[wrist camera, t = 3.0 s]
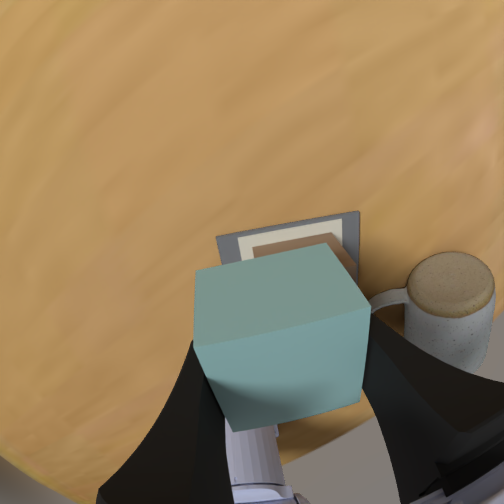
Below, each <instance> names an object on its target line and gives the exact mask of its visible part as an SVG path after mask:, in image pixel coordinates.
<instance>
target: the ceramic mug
mask: <svg viewBox="0 0 504 504" xmlns="http://www.w3.org/2000/svg"><path fill="white" fill-rule="evenodd" d="M495 298H496V294H495V283H494V278H493V275H492V273H491V271H490V269H489V268H488V266H487V265H485V264H484V263H483V262H482V261H481V260H479V259H478V258H476V257H474V256H472V255H469V254H465V253H459V252H445V253H440V254H436V255H433V256H431V257H429V258H427V259H425V260H423V261H422V262H421V263H420V264H419V265H417V266H416V267H415V268H414V270H413V271H412V272H411V274H410V276H409V279H408V283H407V286H406V287H405V288H402V289H390V290H388V291H385V292H382V293H380V294H377V295H375V296H374V297H372V298H371V299H370V300H369V301H368V302H369V304H370V305H371V313H372V314H373V313H374V312H375V311H376V310H378V309H380V308H382V307H385V306H390V305H393V304H401V303H405V304H404V305H405V326H404V338H405V339H406V340H408V341H409V342H411V343H412V344H414V345H415V346H417V347H418V348H420V349H422V350H423V351H425V352H427V353H428V354H430V355H432V356H434V357H436V358H438V359H439V360H441V361H443V362H445V363H447V364H450V365H452V366H454V367H456V368H459V369H461V370H463V371H466V372H469V373H471V374H473V373H474V372H475V371H476V370H477V369H478V368H479V367H480V366H481V364H482V363H483V361H484V358H485V356H486V352H487V347H488V342H489V336H490V332H491V326H492V319H493V313H494V308H495Z"/></svg>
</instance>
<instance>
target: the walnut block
mask: <svg viewBox="0 0 504 504" xmlns="http://www.w3.org/2000/svg"><path fill="white" fill-rule="evenodd" d="M322 243H327V245H328V246H329V247H330V249H331V250H332V251H333V253H334V254H335V255H336V257H337V258H338V260H339V261H340V262H341V264H342V265H343V267H344V268H345V269H346V271H347V272H348V274H349V275H350V276H351V278H352V279H353V281H354V282H355V284H356V266H357V265H356V264H355V262H354V261H353V260H352V258H351V257H350V256H349V254H348V253H347V252H346V250H345V249H344V248H343V247H342V245H341V244H340V243H339V241H338V240H337V239H336V238H335V236H334V235H333V234H332V233H331V232H329V233H324V234H319V235H313V236H308V237H303V238H297V239H292V240H287V241H281V242H276V243H271V244H266V245H260V246H255V247H252V250H253V256H254V258H257V257H262V256H267V255H271V254H276V253H281V252H285V251H290V250H294V249H299V248H303V247H308V246H313V245H317V244H322Z"/></svg>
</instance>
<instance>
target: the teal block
mask: <svg viewBox="0 0 504 504" xmlns="http://www.w3.org/2000/svg"><path fill="white" fill-rule="evenodd" d="M370 314H371V305H370V304H369V302H368V301H367V299H366V298H365V297H364V295H363V294H362V292H361V291H360V289H359V288H358V286H357V285H356V284H355V282H354V281H353V279H352V278H351V276H350V275H349V274H348V272H347V271H346V269H345V268H344V267H343V265H342V264H341V262H340V261H339V260H338V258H337V257H336V255H335V254H334V253H333V251H332V250H331V249H330V247H329V246H328V245H327V243H322V244H317V245H313V246H308V247H303V248H299V249H294V250H290V251H285V252H281V253H276V254H271V255H267V256H262V257H257V258H253V259H248V260H244V261H239V262H234V263H230V264H225V265H220V266H216V267H211V268H206V269H202V270H197V271H196V277H195V302H194V338H193V348H194V350H195V353H196V355H197V357H198V359H199V362H200V364H201V366H202V369H203V371H204V373H205V375H206V377H207V380H208V382H209V384H210V386H211V388H212V390H213V393H214V395H215V397H216V399H217V401H218V403H219V405H220V407H221V409H222V411H223V414H224V416H225V418H226V420H227V422H228V424H229V426H230V428H231V430H232V432H239V431H245V430H251V429H256V428H261V427H266V426H271V425H276V424H281V423H285V422H289V421H294V420H298V419H302V418H306V417H310V416H314V415H317V414H321V413H325V412H328V411H332V410H335V409H338V408H342V407H345V406H348V405H351V404H355V403H358V402H360V396H361V390H362V383H363V376H364V369H365V361H366V353H367V344H368V335H369V325H370Z"/></svg>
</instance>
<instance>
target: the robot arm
mask: <svg viewBox="0 0 504 504" xmlns="http://www.w3.org/2000/svg"><path fill="white" fill-rule="evenodd" d="M362 389H363V391H364V393H365V395H366V396H367V398H368V400H369V402H370V404H371V406H372V408H373V410H374V413H375V415H376V417H377V420H378V423H379V425H380V428H381V431H382V434H383V437H384V440H385V443H386V446H387V449H388V453H389V456H390V459H391V463H392V467H393V471H394V474H395V479H396V483H397V488H398V492H399V497H400V502H401V504H446V503H447V504H504V383H502V382H498V381H493V380H490V379H486V378H483V377H480V376H477V375H474V374H471V373H469V372H466V371H463V370H461V369H459V368H456V367H454V366H452V365H450V364H447V363H445V362H443V361H441V360H439V359H438V358H436V357H434V356H432V355H430V354H428V353H427V352H425V351H423V350H422V349H420V348H418V347H417V346H415V345H414V344H412V343H411V342H409V341H408V340H406V339H405V338H404V337H402V336H401V335H399V334H398V333H397V332H395V331H394V330H393V329H391V328H390V327H389V326H387V325H386V324H385V323H384V322H382V321H381V320H380V319H378V318H377V317H376V316H375V315H373V314H372V313H371V314H370V325H369V335H368V344H367V353H366V361H365V369H364V376H363V383H362ZM278 436H279V432H278V427H277V424H276V425H271V426H266V427H261V428H256V429H251V430H245V431H239V432H232V430H231V428H230V426H229V424H228V422H227V420H226V418H225V416H224V414H223V411H222V409H221V407H220V405H219V403H218V401H217V399H216V397H215V395H214V393H213V390H212V388H211V386H210V384H209V382H208V380H207V377H206V375H205V373H204V371H203V369H202V366H201V364H200V362H199V359H198V357H197V355H196V353H195V350H194V348H193V340H192V342H191V344H190V347H189V350H188V353H187V356H186V359H185V361H184V364H183V366H182V369H181V371H180V374H179V376H178V379H177V381H176V383H175V386H174V388H173V390H172V392H171V394H170V396H169V398H168V400H167V402H166V404H165V406H164V408H163V409H162V411H161V413H160V415H159V417H158V418H157V420H156V421H155V423H154V425H153V426H152V428H151V429H150V431H149V432H148V434H147V435H146V437H145V438H144V440H143V441H142V442H141V444H140V445H139V446H138V448H137V449H136V450H135V451H134V452H133V454H132V455H131V456H130V457H129V458H128V460H127V461H126V462H125V463H124V464H123V465H122V466H121V468H120V469H119V470H118V471H117V472H116V473H115V474H114V475H113V476H112V477H110V478H109V479H108V480H107V481H106V482H105V483H104V484H103V485H102V486H101V487H100V488H99V490H98V494H97V498H96V504H310V502H309V501H308V500H307V499H306V498H304V497H303V496H302V495H301V494H299V493H294V494H293V491H292V486H291V485H289V486H286V485H285V480H284V475H283V471H282V466H281V461H280V456H279V451H278V447H277V442H276V437H278Z"/></svg>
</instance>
